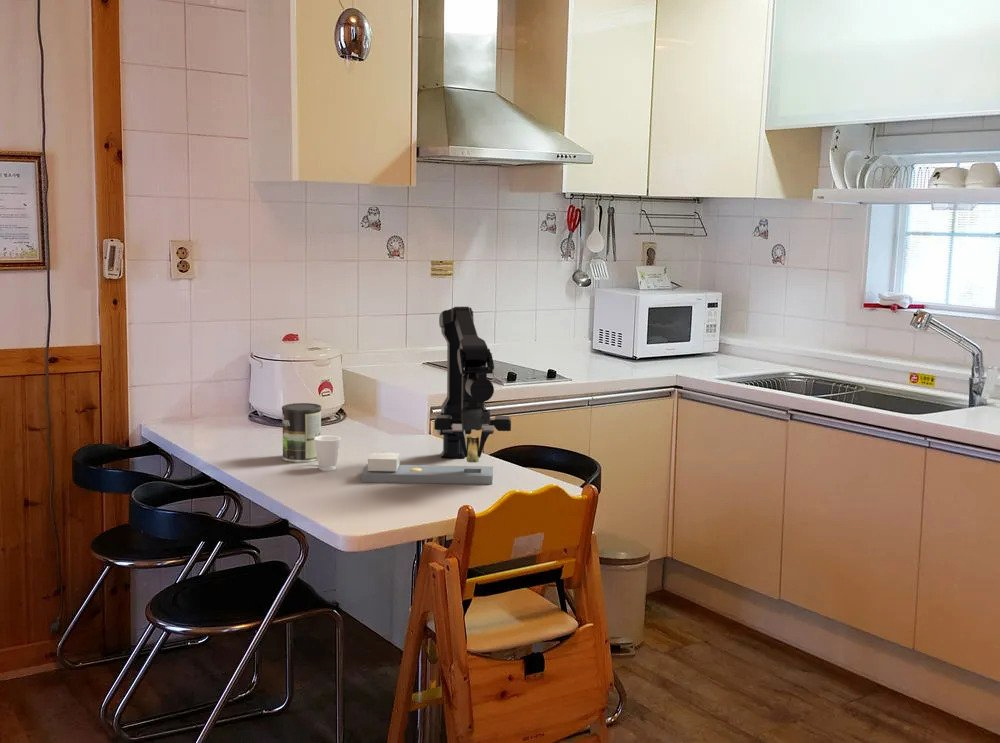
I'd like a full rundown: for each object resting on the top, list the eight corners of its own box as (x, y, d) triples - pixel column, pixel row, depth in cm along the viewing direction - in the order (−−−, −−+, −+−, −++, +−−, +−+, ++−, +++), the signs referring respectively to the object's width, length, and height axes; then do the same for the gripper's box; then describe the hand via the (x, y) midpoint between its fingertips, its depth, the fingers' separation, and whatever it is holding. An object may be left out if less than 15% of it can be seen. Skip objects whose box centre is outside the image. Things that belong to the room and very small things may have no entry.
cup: (318, 473, 258) (318, 441, 257) (306, 464, 267) (306, 434, 266) (345, 470, 262) (345, 439, 261) (332, 462, 270) (332, 432, 269)
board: (366, 472, 260) (366, 463, 260) (492, 474, 260) (492, 466, 260) (360, 481, 250) (360, 473, 250) (492, 484, 250) (492, 475, 250)
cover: (371, 464, 259) (371, 452, 258) (399, 464, 258) (399, 453, 258) (367, 470, 252) (367, 458, 251) (396, 471, 252) (396, 459, 251)
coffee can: (285, 464, 268) (285, 410, 266) (279, 455, 277) (279, 403, 275) (325, 461, 271) (324, 408, 269) (317, 453, 281) (317, 402, 279)
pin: (466, 459, 256) (467, 436, 255) (478, 459, 256) (479, 436, 255) (466, 462, 253) (466, 438, 252) (478, 462, 253) (478, 438, 252)
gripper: (432, 400, 244) (432, 464, 247) (511, 401, 244) (510, 465, 247) (436, 392, 255) (435, 453, 258) (511, 393, 255) (510, 455, 258)
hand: (472, 457), depth 255 cm, fingers closed on pin, 3 cm apart
